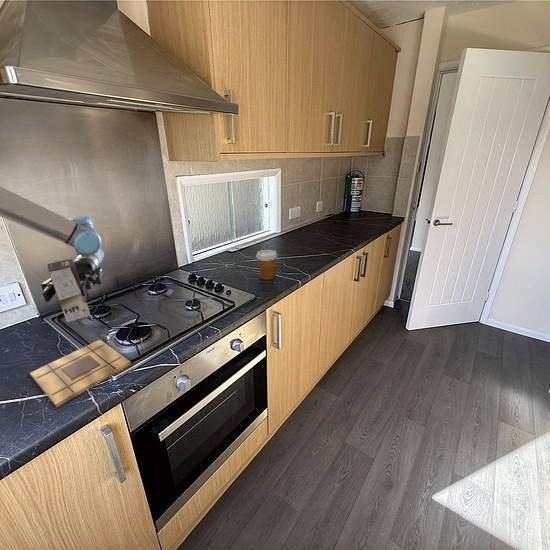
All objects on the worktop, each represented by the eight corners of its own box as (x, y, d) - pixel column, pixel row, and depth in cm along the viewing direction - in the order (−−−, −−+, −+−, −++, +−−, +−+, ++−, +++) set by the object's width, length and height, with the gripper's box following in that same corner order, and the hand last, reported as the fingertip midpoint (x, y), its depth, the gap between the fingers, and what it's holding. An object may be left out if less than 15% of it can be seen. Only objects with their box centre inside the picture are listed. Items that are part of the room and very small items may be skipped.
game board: (57, 409, 68) (55, 403, 67) (31, 377, 78) (29, 372, 77) (131, 365, 81) (130, 360, 80) (101, 343, 91) (99, 338, 90)
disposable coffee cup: (265, 272, 140) (264, 248, 135) (282, 276, 134) (281, 251, 130) (253, 279, 133) (251, 254, 128) (269, 283, 127) (268, 258, 123)
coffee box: (91, 315, 89) (76, 266, 82) (66, 323, 85) (48, 271, 79) (86, 304, 95) (71, 258, 89) (63, 311, 92) (46, 263, 85)
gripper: (119, 272, 107) (108, 300, 87) (52, 281, 101) (24, 313, 81) (114, 253, 104) (102, 276, 84) (45, 261, 98) (14, 289, 78)
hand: (64, 294), depth 83 cm, fingers closed on coffee box, 8 cm apart
